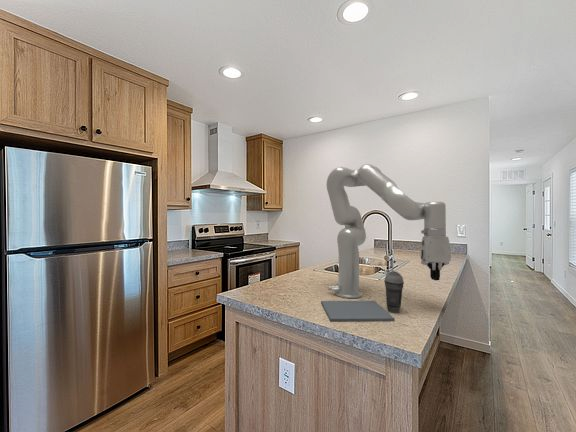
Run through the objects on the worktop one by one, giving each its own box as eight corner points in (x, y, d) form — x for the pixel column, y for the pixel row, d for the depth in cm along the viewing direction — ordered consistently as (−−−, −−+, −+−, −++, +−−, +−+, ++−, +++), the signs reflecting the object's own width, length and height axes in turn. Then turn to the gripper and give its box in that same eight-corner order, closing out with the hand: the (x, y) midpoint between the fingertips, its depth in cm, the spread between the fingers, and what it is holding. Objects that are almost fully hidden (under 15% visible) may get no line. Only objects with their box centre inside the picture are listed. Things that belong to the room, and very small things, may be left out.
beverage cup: (393, 315, 103) (394, 262, 103) (379, 309, 110) (380, 259, 110) (407, 313, 106) (408, 261, 106) (393, 307, 113) (394, 258, 113)
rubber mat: (330, 321, 97) (330, 318, 97) (321, 303, 117) (321, 300, 117) (394, 321, 98) (394, 318, 98) (374, 302, 118) (374, 300, 118)
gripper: (421, 233, 104) (421, 282, 104) (459, 233, 105) (459, 281, 105) (411, 232, 112) (411, 277, 112) (447, 232, 113) (447, 277, 113)
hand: (435, 279), depth 109 cm, fingers closed
